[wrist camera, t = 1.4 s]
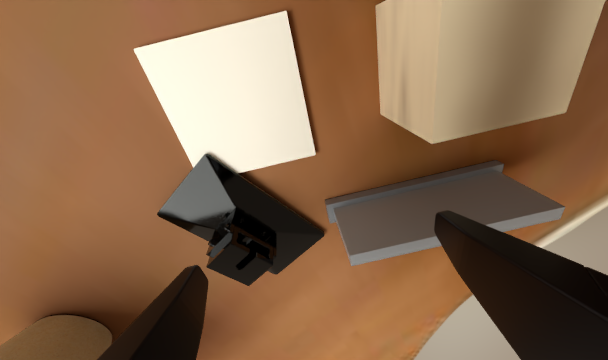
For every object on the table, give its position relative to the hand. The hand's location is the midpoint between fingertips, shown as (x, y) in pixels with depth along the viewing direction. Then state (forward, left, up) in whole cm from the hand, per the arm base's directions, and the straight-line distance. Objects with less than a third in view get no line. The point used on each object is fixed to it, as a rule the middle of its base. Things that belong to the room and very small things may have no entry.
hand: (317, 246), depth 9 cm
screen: (-9, +6, -10) cm, 15 cm away
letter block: (-10, -4, -10) cm, 15 cm away
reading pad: (+3, -4, -10) cm, 11 cm away
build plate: (+6, +5, -10) cm, 13 cm away
